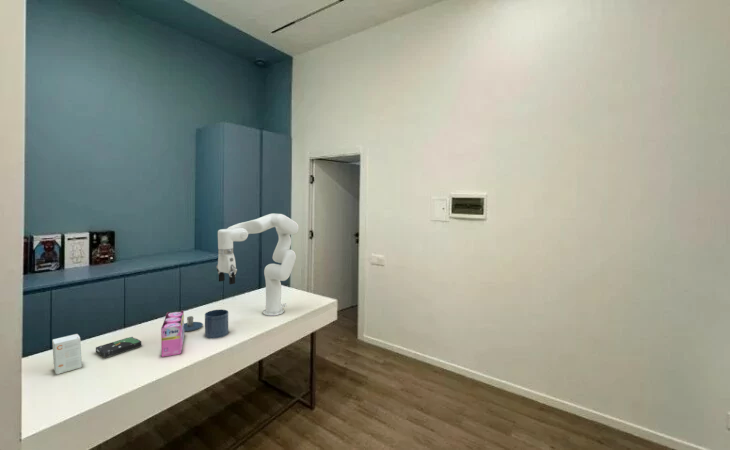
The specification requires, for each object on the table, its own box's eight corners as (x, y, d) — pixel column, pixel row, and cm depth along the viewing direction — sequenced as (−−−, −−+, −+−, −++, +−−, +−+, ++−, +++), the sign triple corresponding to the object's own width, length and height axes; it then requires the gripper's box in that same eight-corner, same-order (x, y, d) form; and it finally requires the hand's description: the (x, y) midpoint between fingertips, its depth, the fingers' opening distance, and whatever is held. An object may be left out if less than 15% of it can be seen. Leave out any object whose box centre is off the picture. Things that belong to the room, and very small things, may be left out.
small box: (79, 362, 139) (78, 333, 138) (82, 367, 134) (80, 337, 134) (53, 369, 132) (51, 339, 131) (55, 375, 128) (54, 343, 127)
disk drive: (104, 359, 142) (142, 346, 155) (104, 353, 142) (141, 340, 154) (95, 353, 147) (132, 341, 160) (95, 347, 147) (131, 335, 160)
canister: (220, 328, 178) (220, 308, 178) (232, 333, 172) (232, 312, 171) (200, 334, 169) (200, 313, 168) (212, 340, 163) (212, 318, 162)
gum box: (167, 336, 166) (167, 311, 165) (185, 334, 169) (184, 309, 168) (161, 357, 144) (160, 328, 143) (181, 354, 148) (180, 325, 147)
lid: (195, 322, 186) (195, 311, 186) (207, 327, 179) (207, 316, 179) (173, 328, 176) (172, 318, 176) (184, 334, 169) (184, 323, 169)
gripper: (241, 252, 172) (242, 283, 174) (222, 249, 182) (223, 278, 183) (229, 254, 166) (230, 286, 167) (210, 251, 175) (211, 281, 177)
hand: (226, 282), depth 175 cm, fingers open, 9 cm apart
